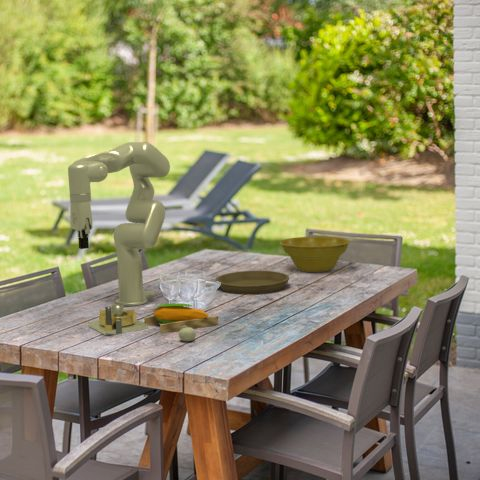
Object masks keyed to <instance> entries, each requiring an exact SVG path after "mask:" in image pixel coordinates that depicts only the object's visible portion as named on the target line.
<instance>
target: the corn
mask: <svg viewBox="0 0 480 480" xmlns="http://www.w3.org/2000/svg"><path fill="white" fill-rule="evenodd" d="M192 306H193V305H192V304H189V303H188V304H186V303H175V302H174V303H163V304H161V305H159V306H157V307H156V308H155V309H154V310H153V316H154V317H155V318H156V319H157V320H158V321H160V322H162V323H163V324H166V323H172V322H179V321H185V320H192V319H203V318H207V317H209V314H208V313H206V312H205V311H203V310H202V309H201V310H198V309H199V308H198V309H197V308H193V307H192Z"/></svg>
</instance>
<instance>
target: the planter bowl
mask: <svg viewBox="0 0 480 480" xmlns="http://www.w3.org/2000/svg"><path fill="white" fill-rule="evenodd" d="M350 243H351V240H350V239H347V238H344V237H336V236H301V237H291V238H290V237H289V238H286V239H285V238H284V239H282V240H280V241H279V243H278V244H280V245H281V246H282V248H283V251H284V252H285V254H287V255H288V256H290V258H291V260H292V262H293V264H294V266H295V267H296V269H298V270H299V271H300V272H307V273H323V272H324V273H325V272H329V271H331V270H332V269H333V268H335V266H337V263H338V261H339V260H340V257H341V256H342V254H344V253H345V252H346V250H347V248H348V247H349V244H350Z"/></svg>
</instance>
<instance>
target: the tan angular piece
mask: <svg viewBox="0 0 480 480" xmlns="http://www.w3.org/2000/svg"><path fill="white" fill-rule="evenodd" d="M117 319H121V320H122V326H127V325H132V324H134V323H135V322H136V319H137V312H136V310H135V309H125V306H123V316H120V317H117V313H112V311H111V306H105V307H104V309H100V310H99V314H98V321H99V324H100V325H103V326H105V331H112V330H113V329H114V328H116V321H115V320H117Z"/></svg>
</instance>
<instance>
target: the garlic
mask: <svg viewBox="0 0 480 480" xmlns="http://www.w3.org/2000/svg"><path fill="white" fill-rule="evenodd" d="M183 327H186V328H183ZM182 328H183V329H181V330H180V331H178V338H179V339H180V340H181V341H183V342H188V343H189V342H192V341H194V340H195V339H196V337H197V336H196V335H197V334H196V331H195V328H194V329H192V328H190V327H187V326H185V325H184V326H182Z"/></svg>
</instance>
